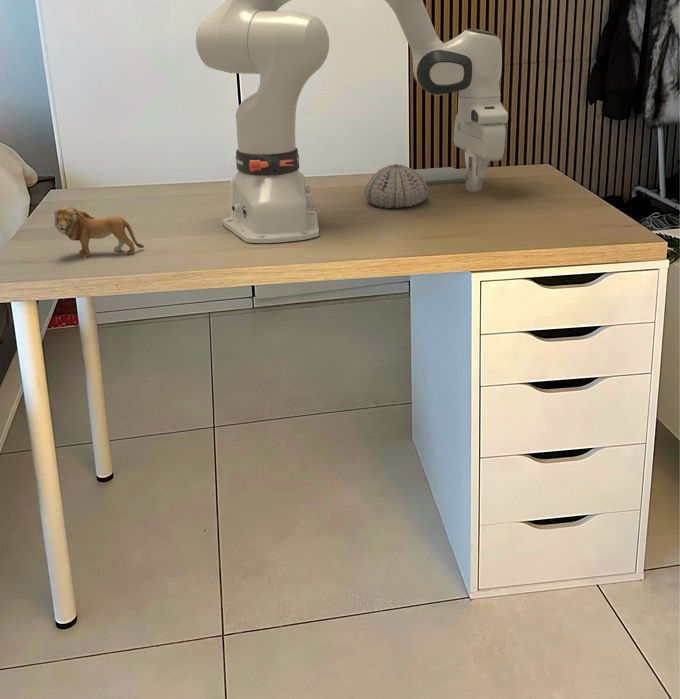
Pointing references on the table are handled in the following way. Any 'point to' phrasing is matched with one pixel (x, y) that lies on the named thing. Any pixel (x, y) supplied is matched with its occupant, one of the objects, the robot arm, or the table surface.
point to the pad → (441, 175)
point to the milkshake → (472, 173)
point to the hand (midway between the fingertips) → (476, 174)
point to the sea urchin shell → (396, 187)
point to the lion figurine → (93, 229)
